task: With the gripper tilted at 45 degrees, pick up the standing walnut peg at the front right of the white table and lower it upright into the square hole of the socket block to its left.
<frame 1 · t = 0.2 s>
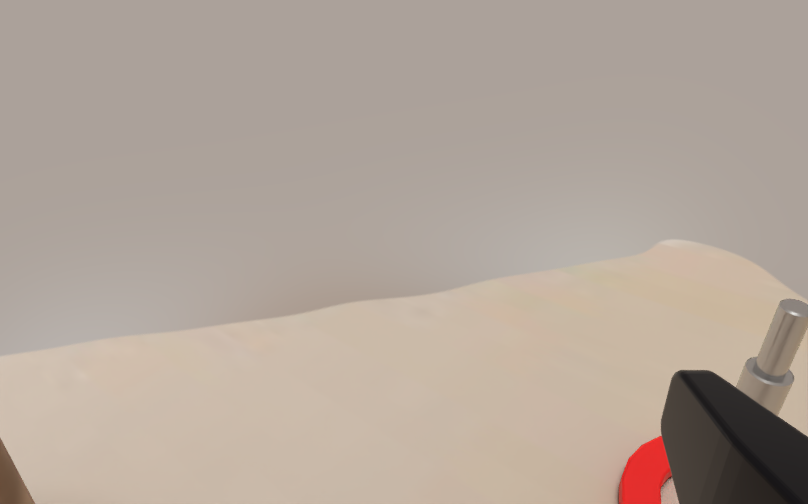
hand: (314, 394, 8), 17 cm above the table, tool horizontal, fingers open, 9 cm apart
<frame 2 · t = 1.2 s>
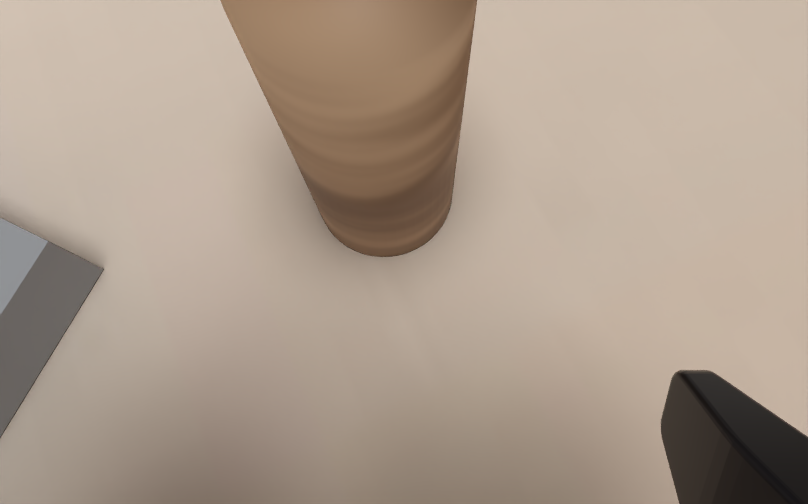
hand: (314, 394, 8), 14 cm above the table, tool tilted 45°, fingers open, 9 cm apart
walnut peg: (384, 192, 23), on the table
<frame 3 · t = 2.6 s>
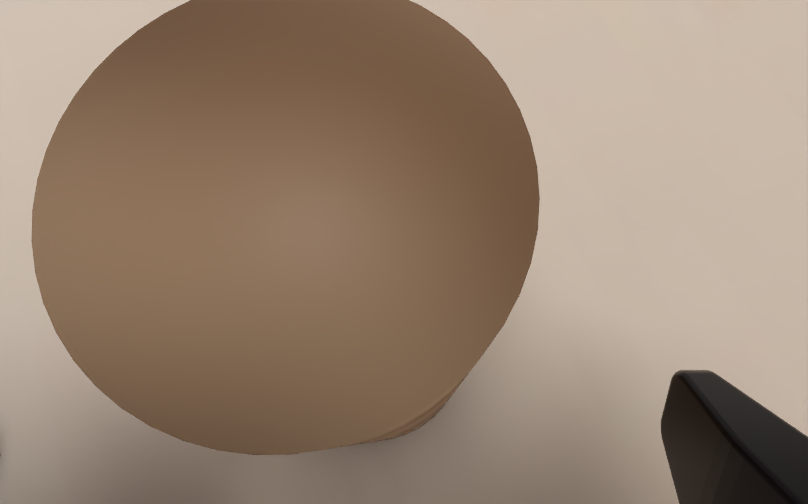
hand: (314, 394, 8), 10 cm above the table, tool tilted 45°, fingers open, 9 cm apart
walnut peg: (374, 348, 18), on the table
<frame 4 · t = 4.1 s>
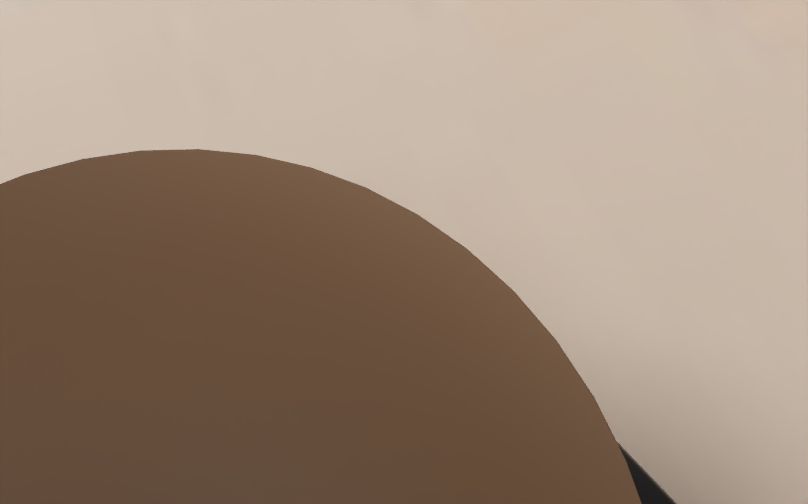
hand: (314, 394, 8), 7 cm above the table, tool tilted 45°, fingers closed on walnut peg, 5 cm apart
walnut peg: (362, 471, 14), on the table, touching gripper
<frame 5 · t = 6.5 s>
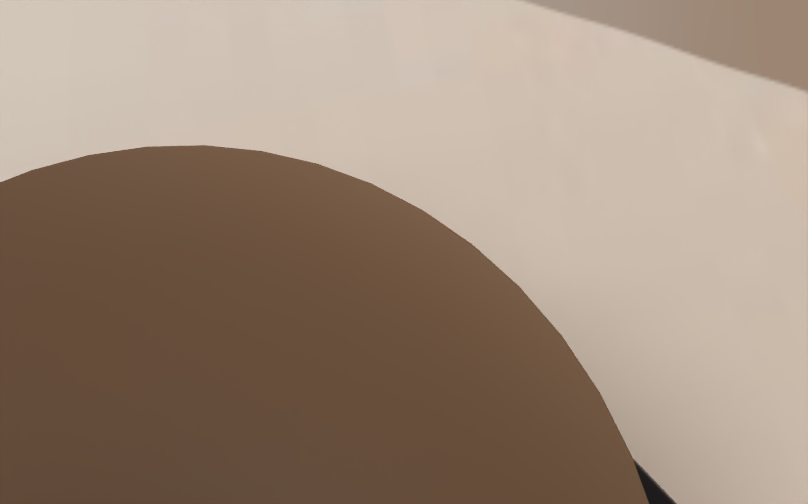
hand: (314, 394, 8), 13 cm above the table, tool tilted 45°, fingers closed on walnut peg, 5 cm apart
walnut peg: (364, 470, 14), point 6 cm above the table, touching gripper
when the fingers open (8 cm above the table, at t = 9.2 s): walnut peg stays where it is, resting in socket block.
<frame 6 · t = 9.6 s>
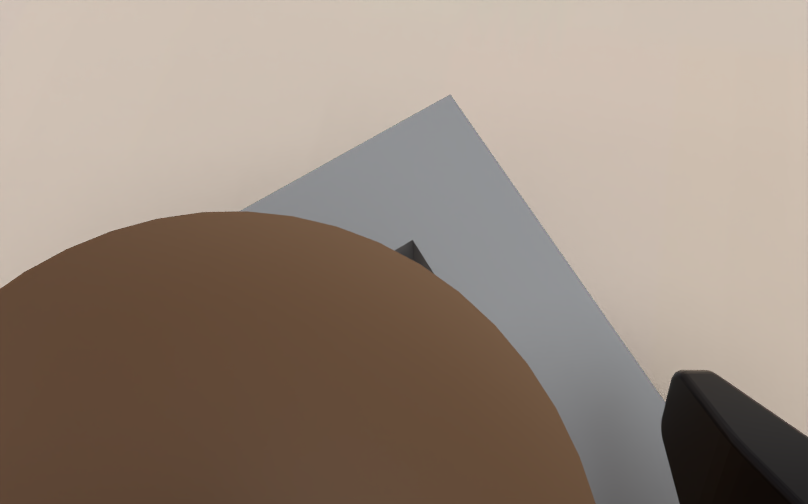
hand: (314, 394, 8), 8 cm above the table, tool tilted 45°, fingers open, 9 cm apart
socket block: (366, 468, 15), on the table
walnut peg: (367, 469, 15), resting in socket block
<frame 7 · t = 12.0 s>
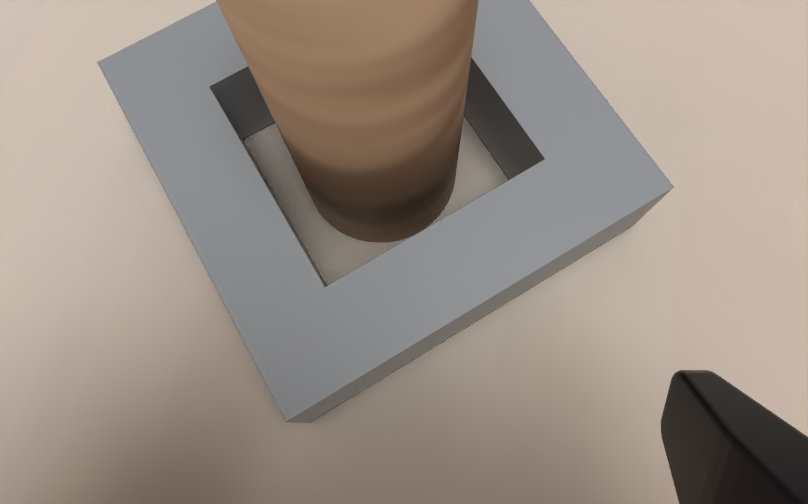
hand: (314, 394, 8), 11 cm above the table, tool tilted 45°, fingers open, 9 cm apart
socket block: (380, 170, 21), on the table
walnut peg: (381, 171, 21), resting in socket block
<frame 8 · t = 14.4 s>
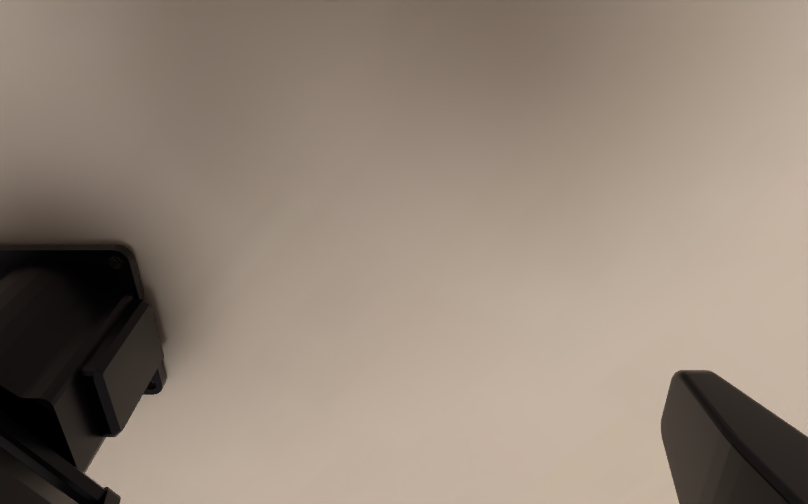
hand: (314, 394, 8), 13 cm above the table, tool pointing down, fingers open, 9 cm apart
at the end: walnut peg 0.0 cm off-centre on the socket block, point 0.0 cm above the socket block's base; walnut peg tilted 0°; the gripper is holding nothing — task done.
